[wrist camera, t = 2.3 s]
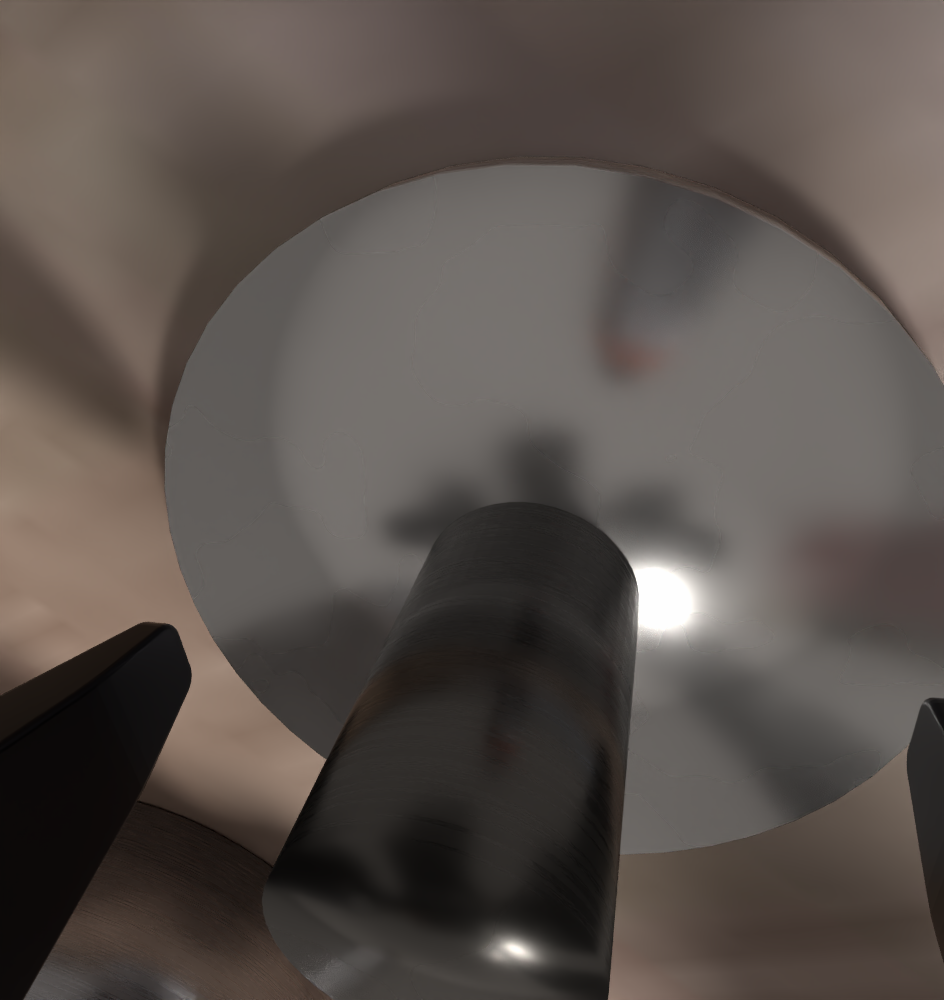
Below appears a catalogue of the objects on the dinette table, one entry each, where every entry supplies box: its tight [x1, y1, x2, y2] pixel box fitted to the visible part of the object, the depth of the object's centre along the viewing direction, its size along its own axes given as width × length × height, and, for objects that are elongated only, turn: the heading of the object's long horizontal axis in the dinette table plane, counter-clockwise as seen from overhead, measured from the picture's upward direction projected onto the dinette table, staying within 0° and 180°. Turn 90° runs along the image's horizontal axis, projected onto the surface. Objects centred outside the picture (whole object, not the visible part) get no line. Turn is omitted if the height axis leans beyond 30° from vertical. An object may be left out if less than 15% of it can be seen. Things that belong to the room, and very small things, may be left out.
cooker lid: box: [165, 157, 944, 1000], centre depth 9 cm, size 11×11×6 cm
